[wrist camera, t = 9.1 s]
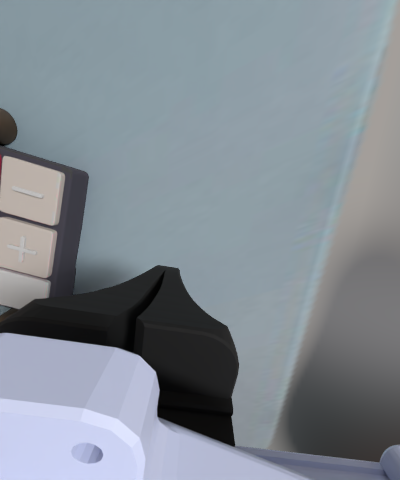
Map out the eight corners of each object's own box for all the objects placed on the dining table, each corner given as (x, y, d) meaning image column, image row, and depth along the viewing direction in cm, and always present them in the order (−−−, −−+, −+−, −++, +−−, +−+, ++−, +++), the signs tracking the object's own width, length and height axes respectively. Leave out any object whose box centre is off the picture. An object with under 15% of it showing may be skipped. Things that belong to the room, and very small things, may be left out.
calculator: (66, 167, 15) (44, 323, 18) (94, 174, 20) (73, 300, 23) (-78, 123, 15) (-76, 294, 18) (-17, 139, 19) (-23, 275, 22)
